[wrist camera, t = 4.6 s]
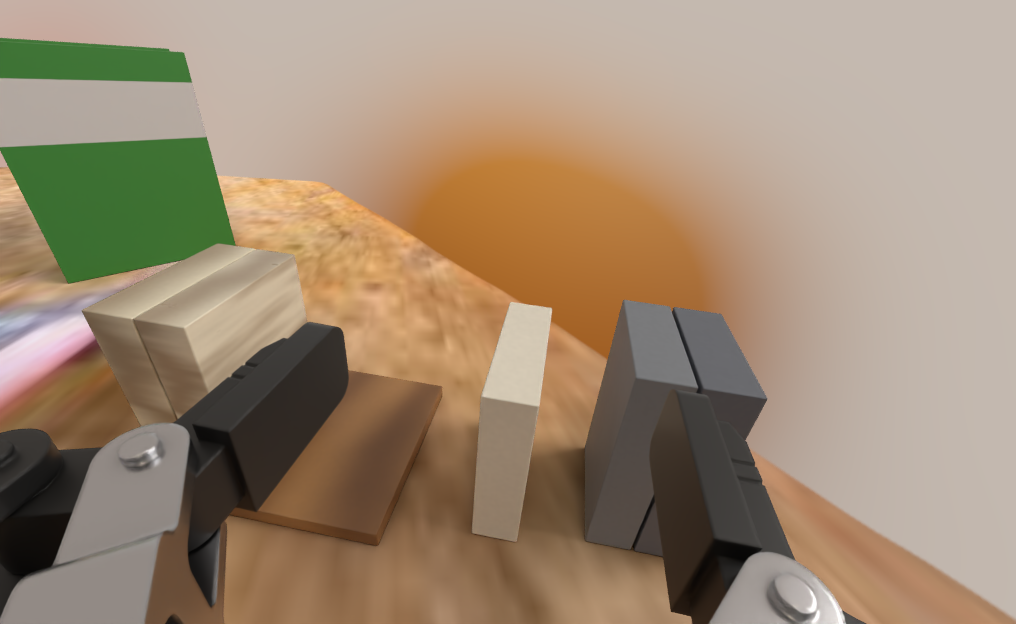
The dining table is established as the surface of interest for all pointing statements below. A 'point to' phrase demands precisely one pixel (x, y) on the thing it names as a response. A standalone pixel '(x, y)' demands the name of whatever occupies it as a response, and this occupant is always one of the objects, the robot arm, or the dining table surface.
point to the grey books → (655, 411)
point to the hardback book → (109, 154)
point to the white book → (509, 421)
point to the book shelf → (355, 461)
